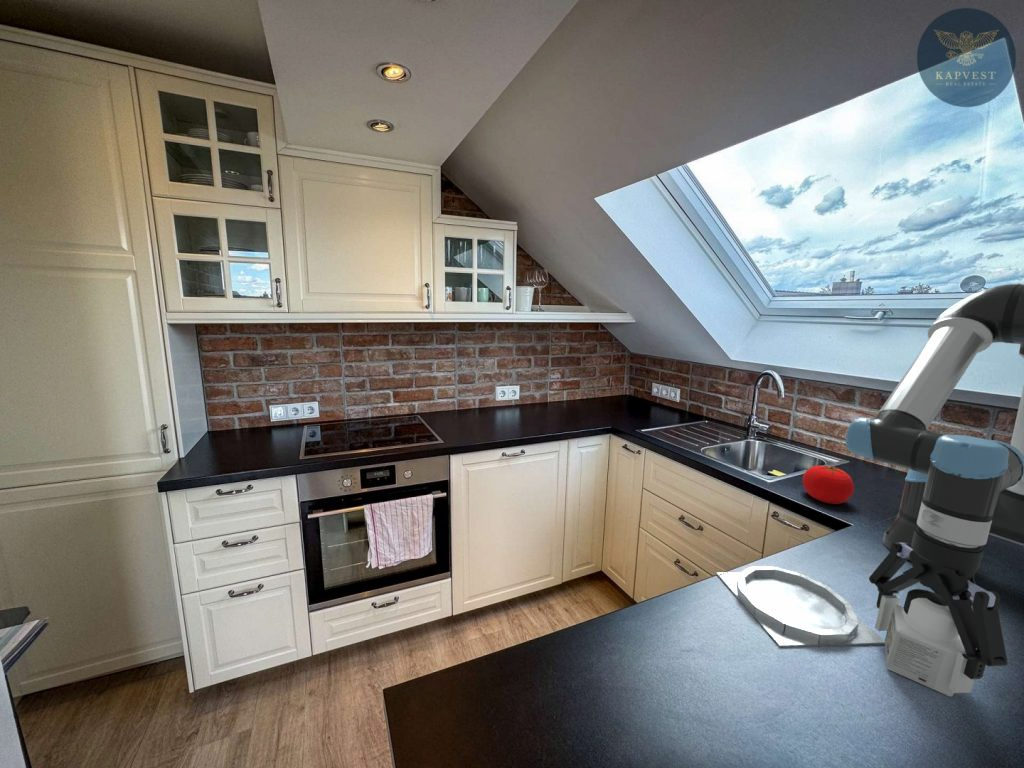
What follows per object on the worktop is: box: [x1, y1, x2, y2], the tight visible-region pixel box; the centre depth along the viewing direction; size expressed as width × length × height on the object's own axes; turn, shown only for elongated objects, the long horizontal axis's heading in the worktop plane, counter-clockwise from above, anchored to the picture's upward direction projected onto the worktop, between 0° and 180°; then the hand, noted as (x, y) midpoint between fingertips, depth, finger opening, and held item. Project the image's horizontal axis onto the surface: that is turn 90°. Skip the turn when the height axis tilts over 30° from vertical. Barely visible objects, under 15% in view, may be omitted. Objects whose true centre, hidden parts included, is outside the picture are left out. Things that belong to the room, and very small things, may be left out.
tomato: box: [802, 464, 855, 505], centre depth 131 cm, size 12×13×11 cm
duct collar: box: [716, 565, 885, 648], centre depth 83 cm, size 20×20×2 cm
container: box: [884, 588, 965, 697], centre depth 68 cm, size 8×8×13 cm
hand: (918, 657), depth 69 cm, fingers open, 11 cm apart
